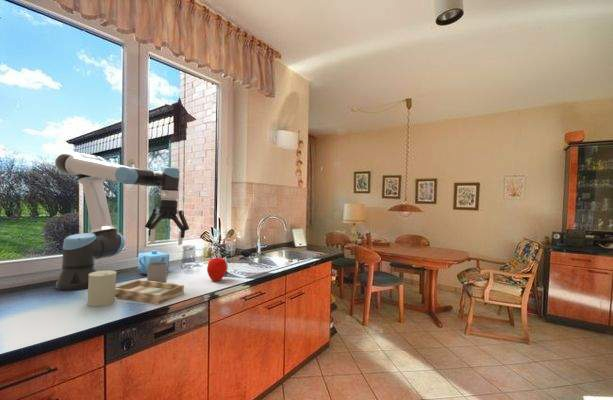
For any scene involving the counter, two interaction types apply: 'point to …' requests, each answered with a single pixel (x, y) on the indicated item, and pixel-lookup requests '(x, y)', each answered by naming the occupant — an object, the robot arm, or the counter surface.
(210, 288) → the counter surface
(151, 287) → the box
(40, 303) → the counter surface
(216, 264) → the apple
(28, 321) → the counter surface
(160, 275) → the cup
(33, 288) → the counter surface
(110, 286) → the can
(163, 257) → the teapot
